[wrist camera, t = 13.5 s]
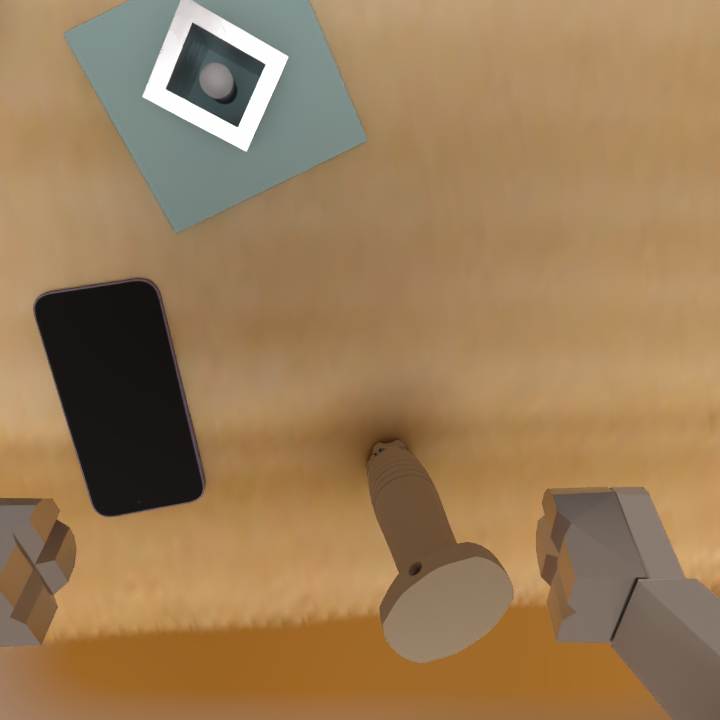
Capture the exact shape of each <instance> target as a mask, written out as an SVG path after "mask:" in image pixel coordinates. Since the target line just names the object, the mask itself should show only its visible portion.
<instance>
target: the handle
mask: <svg viewBox="0 0 720 720" xmlns="http://www.w3.org/2000/svg"><path fill="white" fill-rule="evenodd" d="M366 469H367V475H368V481H369V490H370V496H371V501H372V505H373V508H374V511H375V515H376V518H377V520H378V522H379V525H380V527H381V530H382V532H383V534H384V537H385V539H386V541H387V544H388V546H389V548H390V551H391V553H392V556H393V559H394V561H395V564H396V566H397V569H398V571H399V574H398V575H397V577H396V578H395V580H394V581H393V583H392V584H391V586H390V588H389V589H388V591H387V593H386V595H385V597H384V599H383V601H382V603H381V605H380V618H381V622H382V627H383V631H384V635H385V638H386V640H387V641H388V644H389V645H390V646H391V647H392V648H393V649H394V651H396V652H397V653H398V654H399V655H401V656H402V657H404V658H406V659H408V660H410V661H414V662H419V663H426V662H429V661H433V660H436V659H440V658H443V657H447V656H450V655H452V654H455V653H458V652H460V651H462V650H463V649H465V648H466V647H468V646H470V645H471V644H473V643H474V642H476V641H477V640H478V639H480V638H481V637H483V636H484V635H485V634H487V633H488V632H489V631H490V630H491V629H492V628H493V627H494V626H495V625H496V624H497V623H498V621H499V620H500V619H501V617H502V616H503V614H504V613H505V611H506V610H507V608H508V607H509V605H510V603H511V602H512V600H513V596H514V592H513V585H512V583H511V581H510V578H509V577H508V575H507V573H506V571H505V570H504V568H503V566H502V565H501V563H500V562H499V561H498V559H497V558H496V557H495V556H494V555H493V554H492V553H491V552H490V551H489V550H487V549H486V548H484V547H483V546H481V545H478V544H475V543H470V542H465V543H459V544H457V543H456V540H455V538H454V535H453V533H452V530H451V528H450V525H449V522H448V520H447V517H446V514H445V511H444V509H443V506H442V503H441V500H440V497H439V495H438V492H437V490H436V488H435V486H434V484H433V482H432V480H431V478H430V476H429V474H428V473H427V471H426V470H425V468H424V467H423V466H422V464H421V463H420V462H419V460H418V459H417V458H416V457H415V456H414V455H413V454H412V452H410V451H408V450H407V447H406V446H405V444H404V443H403V442H402V441H400V440H395V441H393V442H390V443H381V442H379V443H377V444H376V445H375V446H374V447H373V453H372V456H371V458H370V460H369V461H367V463H366Z"/></svg>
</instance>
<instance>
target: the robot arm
mask: <svg viewBox="0 0 720 720" xmlns="http://www.w3.org/2000/svg"><path fill="white" fill-rule="evenodd" d="M542 506H543V510H544V514H545V515H544V516H543V517H542V518H540V519H539V520H538V525H537V531H536V552H537V559H538V565H539V569H540V574H541V577H542V578H543V579H544V580H545V581H546V582H547V583H548V584H549V585H550V586H551V588H550V592H549V596H548V600H547V605H548V609H549V613H550V617H551V621H552V626H553V630H554V634H555V638H556V642H583V643H585V642H586V643H612V644H611V647H612V648H613V649H614V650H615V652H616V653H617V654H618V655H619V656H620V657H621V659H622V660H623V661H624V662H625V663H626V665H627V666H628V667H629V668H630V669H631V670H632V672H633V673H634V674H635V675H636V676H637V678H638V679H639V680H640V681H641V682H642V684H643V685H644V686H645V687H646V688H647V690H648V691H649V692H650V693H651V694H652V696H653V697H654V698H655V699H656V700H657V702H658V703H659V704H660V705H661V706H662V707H663V708H664V710H665V711H666V712H667V713H668V715H669V716H670V717H671V718H672V719H673V720H720V598H718V597H717V596H716V595H715V594H714V593H712V592H711V591H710V590H709V589H708V588H707V587H705V586H704V585H703V584H702V583H701V582H699V581H698V580H697V579H690V578H686V577H685V575H684V573H683V570H682V568H681V566H680V564H679V561H678V559H677V557H676V554H675V552H674V550H673V547H672V545H671V543H670V541H669V538H668V536H667V534H666V531H665V529H664V527H663V524H662V522H661V520H660V517H659V515H658V513H657V511H656V508H655V506H654V504H653V501H652V499H651V497H650V494H649V492H648V491H647V490H646V489H645V488H644V487H611V488H609V487H585V488H553V489H547V490H546V491H545V493H544V496H543V500H542ZM59 512H60V510H59V508H58V507H57V505H56V504H55V502H54V500H53V499H39V498H0V647H10V646H39V645H42V643H43V641H44V638H45V636H46V633H47V631H48V629H49V626H50V624H51V622H52V619H53V617H54V614H55V612H56V610H57V607H58V606H57V603H56V600H55V597H54V594H55V593H56V592H57V591H58V590H60V589H61V588H62V587H63V586H64V585H65V584H66V583H68V581H69V578H70V576H71V573H72V571H73V568H74V565H75V556H76V543H75V538H74V535H73V533H72V531H71V529H70V528H69V527H68V526H66V525H65V524H63V523H61V522H60V521H58V520H57V517H58V515H59Z"/></svg>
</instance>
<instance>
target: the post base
mask: <svg viewBox="0 0 720 720" xmlns="http://www.w3.org/2000/svg"><path fill="white" fill-rule="evenodd" d="M180 1H181V0H130V1H128V2H126V3H124V4H122V5H120V6H118V7H116V8H114V9H112V10H110V11H108V12H106V13H103V14H101V15H99V16H97V17H95V18H93V19H91V20H89V21H87V22H85V23H83V24H81V25H79V26H77V27H75V28H73V29H71V30H69V31H67V32H65V33H63V35H64V37H65V39H66V40H67V42H68V44H69V46H70V48H71V49H72V51H73V53H74V55H75V56H76V58H77V60H78V62H79V63H80V65H81V67H82V69H83V71H84V72H85V74H86V76H87V78H88V79H89V81H90V83H91V85H92V86H93V88H94V90H95V92H96V94H97V95H98V97H99V99H100V101H101V102H102V104H103V106H104V108H105V110H106V111H107V113H108V115H109V117H110V118H111V120H112V122H113V124H114V125H115V127H116V129H117V131H118V133H119V134H120V136H121V138H122V140H123V141H124V143H125V145H126V147H127V148H128V150H129V152H130V154H131V156H132V157H133V159H134V161H135V163H136V164H137V166H138V168H139V170H140V171H141V173H142V175H143V177H144V179H145V180H146V182H147V184H148V186H149V187H150V189H151V191H152V193H153V194H154V196H155V198H156V200H157V202H158V203H159V205H160V207H161V209H162V210H163V212H164V214H165V216H166V217H167V219H168V221H169V223H170V225H171V226H172V228H173V230H174V232H175V233H176V234H177V233H179V232H181V231H183V230H185V229H187V228H189V227H191V226H193V225H195V224H197V223H199V222H201V221H203V220H205V219H208V218H210V217H212V216H214V215H216V214H218V213H220V212H222V211H224V210H226V209H228V208H230V207H232V206H234V205H236V204H238V203H240V202H242V201H245V200H247V199H249V198H251V197H253V196H255V195H257V194H259V193H261V192H263V191H265V190H267V189H269V188H271V187H273V186H275V185H277V184H279V183H282V182H284V181H286V180H288V179H290V178H292V177H294V176H296V175H298V174H300V173H302V172H304V171H306V170H308V169H310V168H312V167H314V166H316V165H318V164H321V163H323V162H325V161H327V160H329V159H331V158H333V157H335V156H337V155H339V154H341V153H343V152H345V151H347V150H349V149H351V148H353V147H355V146H358V145H360V144H362V143H364V142H366V141H368V139H367V137H366V135H365V132H364V130H363V128H362V125H361V123H360V120H359V118H358V116H357V113H356V111H355V109H354V106H353V104H352V101H351V99H350V97H349V94H348V92H347V89H346V87H345V85H344V82H343V80H342V78H341V75H340V73H339V70H338V68H337V66H336V63H335V61H334V58H333V56H332V54H331V51H330V49H329V47H328V44H327V42H326V39H325V37H324V35H323V32H322V30H321V28H320V25H319V23H318V20H317V18H316V16H315V13H314V11H313V8H312V6H311V4H310V1H309V0H192V1H194V2H195V3H197V4H199V5H200V6H202V7H204V8H206V9H207V10H209V11H211V12H212V13H214V14H216V15H218V16H219V17H221V18H223V19H225V20H226V21H228V22H230V23H231V24H233V25H235V26H237V27H238V28H240V29H242V30H243V31H245V32H247V33H249V34H250V35H252V36H254V37H256V38H257V39H259V40H261V41H262V42H264V43H266V44H268V45H269V46H271V47H273V48H274V49H276V50H278V51H280V52H281V53H283V54H285V55H287V56H288V60H287V63H286V66H285V70H284V73H283V75H282V78H281V80H280V82H279V84H278V87H277V89H276V91H275V93H274V96H273V98H272V100H271V102H270V105H269V107H268V109H267V111H266V114H265V116H264V118H263V120H262V122H261V125H260V127H259V129H258V131H257V134H256V136H255V138H254V140H253V143H252V145H251V147H250V149H249V150H248V151H244V150H243V149H241V148H239V147H237V146H235V145H233V144H231V143H229V142H227V141H225V140H224V139H222V138H220V137H218V136H216V135H214V134H212V133H210V132H208V131H206V130H204V129H203V128H201V127H199V126H197V125H195V124H193V123H191V122H189V121H187V120H185V119H183V118H182V117H180V116H178V115H176V114H174V113H172V112H170V111H168V110H166V109H164V108H163V107H161V106H159V105H157V104H155V103H153V102H151V101H149V100H147V99H145V98H143V97H142V96H143V94H144V91H145V89H146V86H147V84H148V81H149V79H150V76H151V74H152V71H153V69H154V66H155V64H156V61H157V59H158V56H159V54H160V51H161V49H162V46H163V43H164V41H165V38H166V36H167V33H168V31H169V28H170V26H171V23H172V21H173V18H174V16H175V13H176V11H177V8H178V6H179V3H180ZM259 79H260V77H258V76H256V75H254V74H252V73H251V72H249V71H247V70H245V69H244V68H242V67H240V66H238V65H236V64H235V63H233V62H231V61H229V60H228V59H226V58H224V57H222V56H220V55H219V54H217V53H215V52H213V51H212V50H210V49H208V51H207V54H206V56H205V58H204V61H203V63H202V66H201V68H200V70H199V73H198V75H197V78H196V80H195V82H194V85H193V87H192V90H191V92H190V95H189V97H188V99H187V100H188V101H189V102H191V103H193V104H195V105H197V106H199V107H201V108H203V109H204V110H206V111H208V112H210V113H212V114H214V115H216V116H218V117H219V118H221V119H223V120H225V121H227V122H229V123H231V124H233V125H234V126H236V127H239V124H240V122H241V120H242V118H243V115H244V113H245V111H246V108H247V106H248V104H249V102H250V99H251V97H252V95H253V93H254V90H255V88H256V86H257V83H258V81H259Z"/></svg>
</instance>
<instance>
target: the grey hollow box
mask: <svg viewBox="0 0 720 720" xmlns="http://www.w3.org/2000/svg"><path fill="white" fill-rule="evenodd" d="M208 49H210V50H212V51H213V52H215V53H217V54H219V55H220V56H222V57H224V58H226V59H228V60H229V61H231V62H233V63H235V64H236V65H238V66H240V67H242V68H244V69H245V70H247V71H249V72H251V73H252V74H254V75H256V76H258V77H260V79H259V81H258V83H257V86H256V88H255V90H254V93H253V95H252V97H251V99H250V102H249V104H248V106H247V108H246V111H245V113H244V115H243V118H242V120H241V122H240V124H239V127H236V126H234V125H233V124H231V123H229V122H227V121H225V120H223V119H221V118H219V117H218V116H216V115H214V114H212V113H210V112H208V111H206V110H204V109H203V108H201V107H199V106H197V105H195V104H193V103H191V102H189V101H188V100H187V99H188V97H189V95H190V92H191V90H192V87H193V85H194V82H195V80H196V78H197V75H198V73H199V70H200V68H201V66H202V63H203V61H204V58H205V56H206V54H207V51H208ZM287 60H288V56H287V55H285V54H283V53H281V52H280V51H278V50H276V49H274V48H273V47H271V46H269V45H268V44H266V43H264V42H262V41H261V40H259V39H257V38H256V37H254V36H252V35H250V34H249V33H247V32H245V31H243V30H242V29H240V28H238V27H237V26H235V25H233V24H231V23H230V22H228V21H226V20H225V19H223V18H221V17H219V16H218V15H216V14H214V13H212V12H211V11H209V10H207V9H206V8H204V7H202V6H200V5H199V4H197V3H195V2H194V1H192V0H181V1H180V3H179V6H178V8H177V11H176V13H175V16H174V18H173V21H172V23H171V26H170V28H169V31H168V33H167V36H166V38H165V41H164V43H163V46H162V49H161V51H160V54H159V56H158V59H157V61H156V64H155V66H154V69H153V71H152V74H151V76H150V79H149V81H148V84H147V86H146V89H145V91H144V94H143V96H142V97H143V98H145V99H147V100H149V101H151V102H153V103H155V104H157V105H159V106H161V107H163V108H164V109H166V110H168V111H170V112H172V113H174V114H176V115H178V116H180V117H182V118H183V119H185V120H187V121H189V122H191V123H193V124H195V125H197V126H199V127H201V128H203V129H204V130H206V131H208V132H210V133H212V134H214V135H216V136H218V137H220V138H222V139H224V140H225V141H227V142H229V143H231V144H233V145H235V146H237V147H239V148H241V149H243V150H244V151H248V150H249V149H250V147H251V145H252V143H253V140H254V138H255V136H256V134H257V131H258V129H259V127H260V125H261V122H262V120H263V118H264V116H265V114H266V111H267V109H268V107H269V105H270V102H271V100H272V98H273V96H274V93H275V91H276V89H277V87H278V84H279V82H280V80H281V78H282V75H283V73H284V70H285V66H286V63H287Z"/></svg>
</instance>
